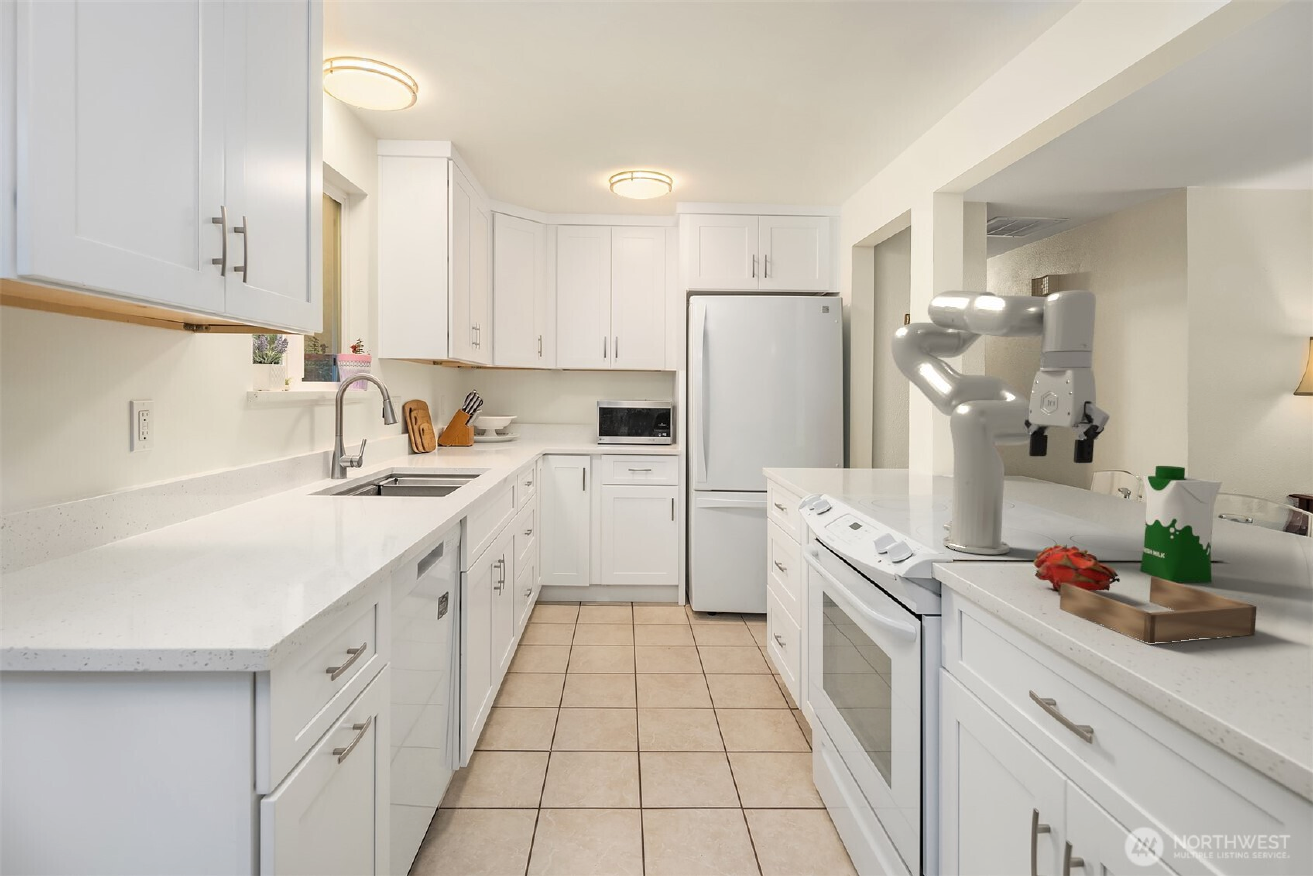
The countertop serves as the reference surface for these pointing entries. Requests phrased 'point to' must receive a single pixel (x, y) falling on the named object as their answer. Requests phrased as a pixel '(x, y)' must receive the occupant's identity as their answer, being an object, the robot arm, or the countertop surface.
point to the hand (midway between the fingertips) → (1059, 459)
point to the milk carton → (1178, 525)
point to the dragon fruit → (1073, 569)
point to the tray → (1165, 613)
